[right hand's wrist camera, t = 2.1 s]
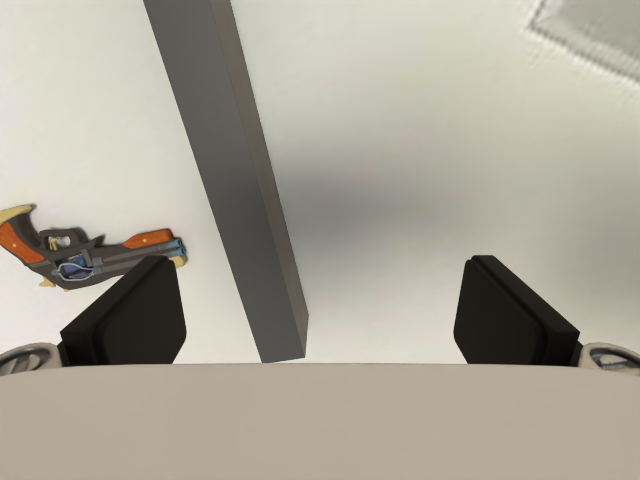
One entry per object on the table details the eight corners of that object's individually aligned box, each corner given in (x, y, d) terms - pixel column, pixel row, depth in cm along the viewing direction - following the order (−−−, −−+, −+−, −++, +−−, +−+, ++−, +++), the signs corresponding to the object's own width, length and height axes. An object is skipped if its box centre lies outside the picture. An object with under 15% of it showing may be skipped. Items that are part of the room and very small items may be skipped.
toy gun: (-34, 217, 34) (11, 308, 37) (151, 175, 34) (183, 269, 36) (-9, 213, 37) (31, 297, 39) (163, 173, 36) (192, 261, 39)
